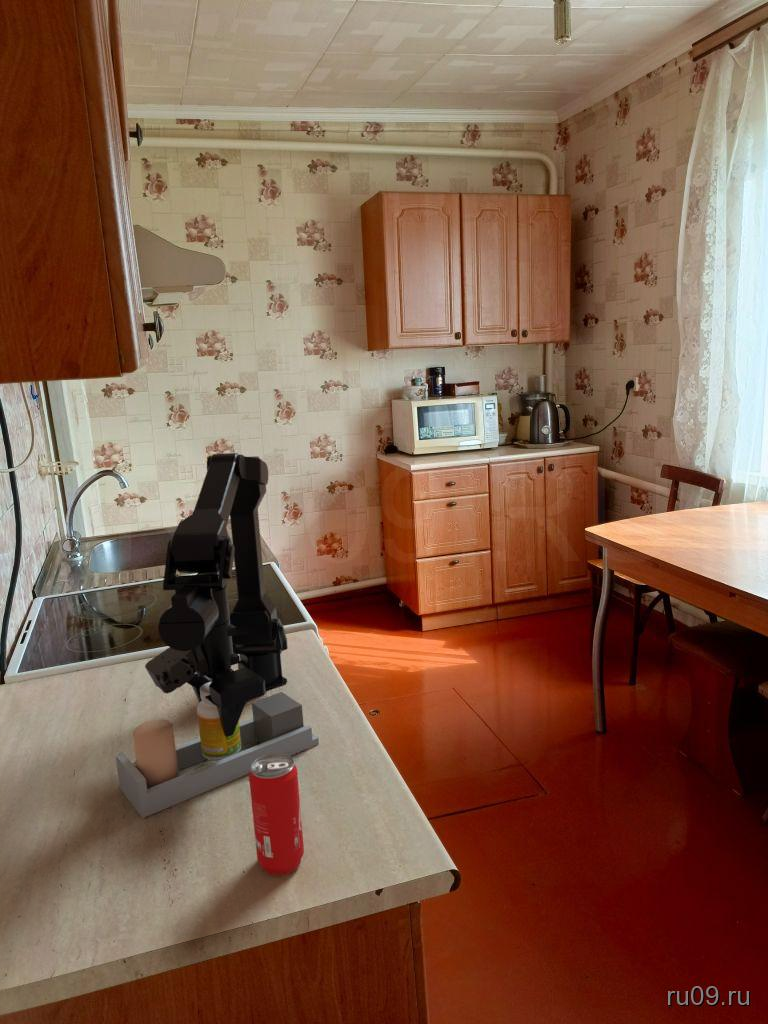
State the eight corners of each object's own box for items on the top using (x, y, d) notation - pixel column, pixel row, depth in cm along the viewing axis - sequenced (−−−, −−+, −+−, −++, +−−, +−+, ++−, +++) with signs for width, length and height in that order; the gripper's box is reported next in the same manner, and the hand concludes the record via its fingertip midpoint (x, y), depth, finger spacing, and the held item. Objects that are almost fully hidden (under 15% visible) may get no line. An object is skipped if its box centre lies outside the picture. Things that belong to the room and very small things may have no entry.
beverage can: (259, 849, 85) (250, 754, 82) (305, 844, 85) (297, 750, 83) (256, 880, 80) (245, 780, 77) (304, 875, 80) (295, 776, 78)
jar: (170, 775, 101) (163, 715, 99) (186, 790, 97) (179, 729, 95) (135, 790, 98) (126, 729, 96) (150, 807, 94) (141, 744, 92)
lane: (288, 723, 114) (286, 693, 113) (318, 744, 107) (316, 712, 106) (120, 788, 99) (115, 754, 97) (142, 818, 92) (137, 782, 91)
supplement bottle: (232, 763, 99) (225, 696, 97) (195, 760, 100) (187, 695, 98) (247, 742, 105) (241, 678, 102) (212, 740, 106) (204, 677, 104)
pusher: (284, 728, 112) (281, 691, 111) (304, 743, 107) (301, 705, 106) (255, 740, 109) (251, 702, 108) (274, 755, 104) (271, 716, 103)
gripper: (124, 618, 101) (138, 723, 104) (177, 659, 86) (192, 778, 90) (200, 599, 108) (211, 697, 111) (262, 633, 93) (272, 746, 96)
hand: (219, 727), depth 102 cm, fingers closed on supplement bottle, 5 cm apart
